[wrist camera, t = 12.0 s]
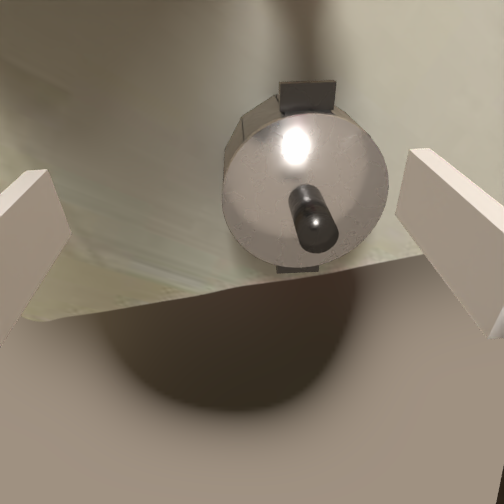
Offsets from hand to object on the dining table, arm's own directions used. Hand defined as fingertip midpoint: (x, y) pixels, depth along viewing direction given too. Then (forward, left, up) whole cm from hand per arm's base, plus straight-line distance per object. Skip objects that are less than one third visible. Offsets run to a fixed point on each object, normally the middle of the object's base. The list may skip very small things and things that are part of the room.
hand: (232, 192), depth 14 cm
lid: (+11, +7, -23) cm, 26 cm away
